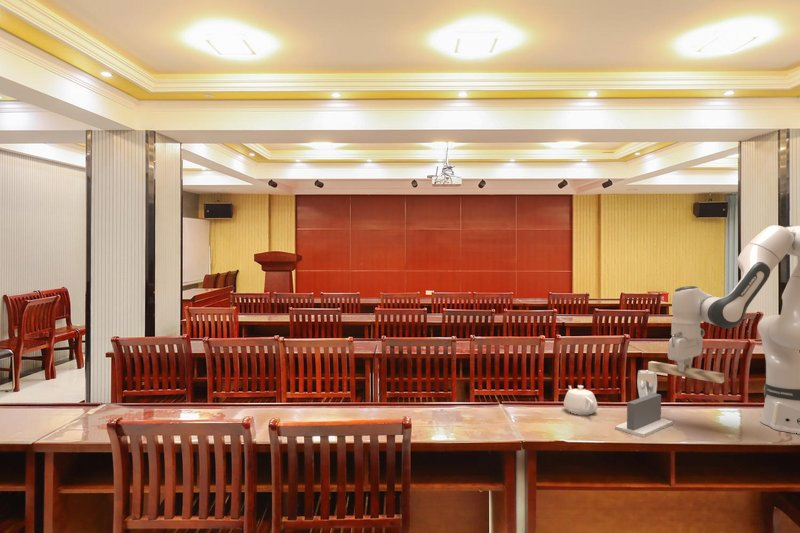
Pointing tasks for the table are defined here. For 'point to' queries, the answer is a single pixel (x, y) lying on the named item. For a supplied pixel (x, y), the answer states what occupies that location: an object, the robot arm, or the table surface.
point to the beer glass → (646, 382)
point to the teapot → (580, 401)
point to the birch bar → (686, 372)
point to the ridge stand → (644, 416)
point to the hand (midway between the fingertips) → (684, 370)
